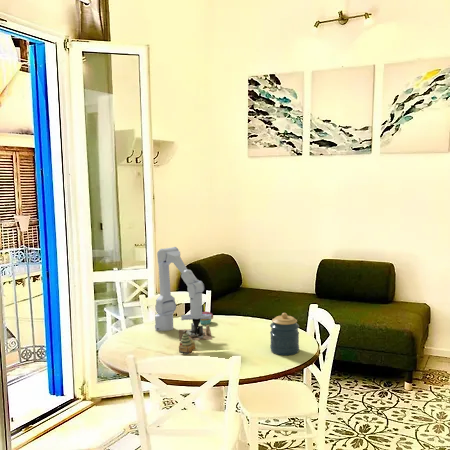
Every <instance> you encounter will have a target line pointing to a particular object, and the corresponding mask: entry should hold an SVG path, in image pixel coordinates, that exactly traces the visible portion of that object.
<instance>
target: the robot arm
mask: <svg viewBox="0 0 450 450" xmlns="http://www.w3.org/2000/svg"><path fill="white" fill-rule="evenodd" d="M156 254H157V265H158V276H159V277H158V279H159V293H160V295H159V296H158V297H157V299H156V300H155V312H156V313H155V323H154V324H155V325H154V329H155V332H159V331H160V332H162V331H163V332H167V331H172V330H174V314H175V311H176V309H177V303H176V301H175V297H174V296H173V295H172V294H171V292H172V291H171V280H170V277H171V276H170V264H173V265H174V267H176V268H177V270H178V271H179V272H180V274H181V275H180V277H181V279H182V280H183V282H184V284H186V286H187V293H188V297H189V304H190V306H189V307H190V309H189V310H190V314H184V315H183V314H182V315H181V316H180V317H181V319H180V320H181V321H188V320H189V321H190V320H192V323H193V324H194V326H195V335H196V333H197V334H198V326H200V324H201V323H200V319H211V314H202V312H203V292H204V291H205V284H204V283H203V281H202V280H199V279H198V278H197V277H196V276H195V274H194V273H193V271H192V270H191V269H188V268H187V266H186V264H185V263H184V261H183V260H182V258H181V251H180V249H179V248H178V247H177V246H173V247H166V248H160V249H159V250H158V251H157V253H156ZM211 320H212V319H211Z"/></svg>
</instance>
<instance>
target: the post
mask: <svg viewBox="0 0 450 450" xmlns="http://www.w3.org/2000/svg"><path fill="white" fill-rule="evenodd" d="M190 325H191V326H190V327H191V328H190V329H191V332H192V333H195V326H194V324H193V322H192V323H190Z"/></svg>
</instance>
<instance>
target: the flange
mask: <svg viewBox="0 0 450 450" xmlns="http://www.w3.org/2000/svg"><path fill="white" fill-rule="evenodd" d="M203 329H204V326H203V325H199V326H198V334H197V333H196V335H195V333H192V332H191V330H186V333H187V334H188V336H189V337H198V338H199V339H201V338H203V335H205V332H203ZM184 332H185V331H183V333H184Z"/></svg>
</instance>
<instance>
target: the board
mask: <svg viewBox="0 0 450 450" xmlns="http://www.w3.org/2000/svg"><path fill="white" fill-rule="evenodd" d="M186 330H191V328H190V329H189V328H187V329H178V336H179V337H178V341H179V342H181V339H182V336H183V334H184V333H183V331H186ZM203 332H205V335H203V338H201V339H199V338H198V337H191V339H192V340H193V341H208V340H213V336H212V332H211V328H210V327H209V334H210V335H206V327H205V328H203Z"/></svg>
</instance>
